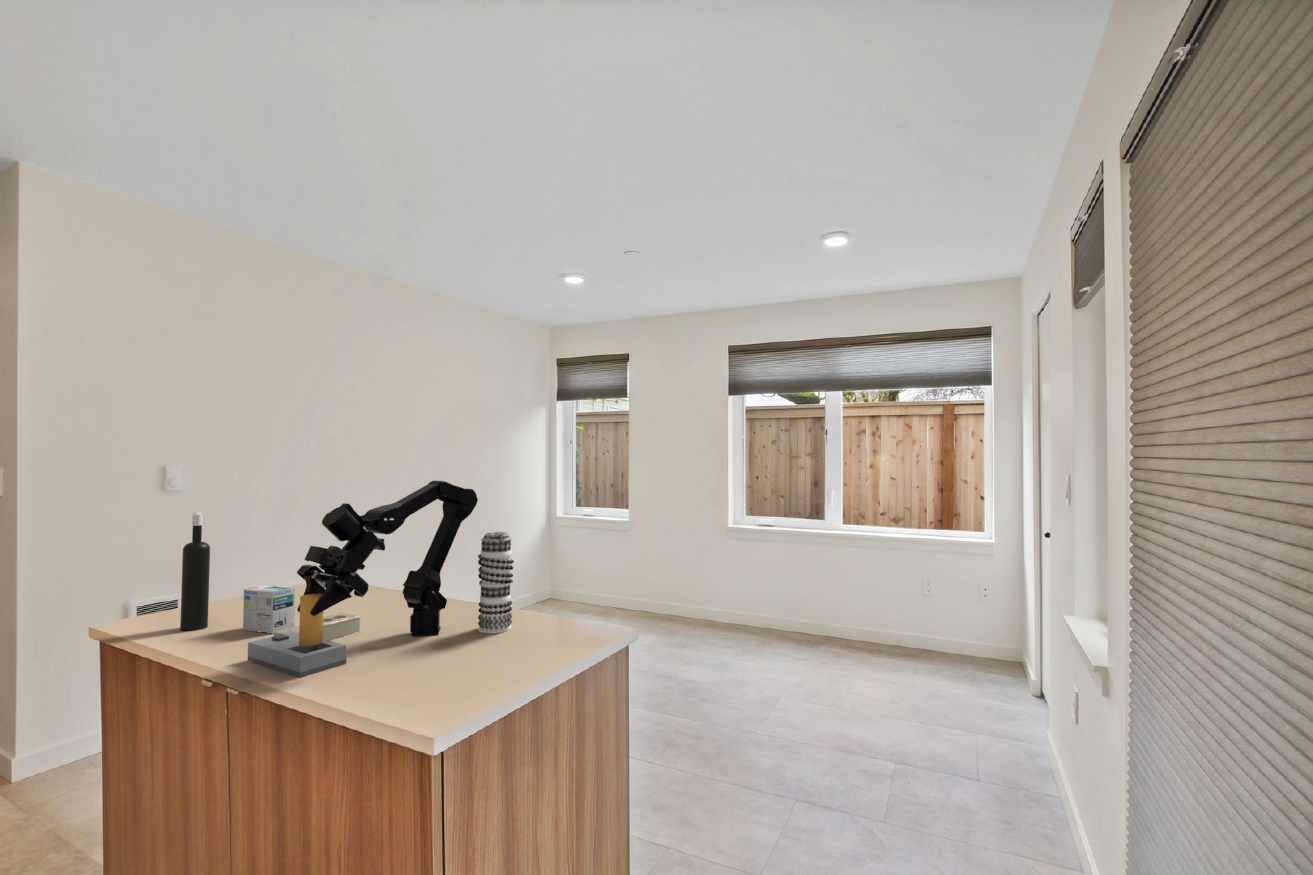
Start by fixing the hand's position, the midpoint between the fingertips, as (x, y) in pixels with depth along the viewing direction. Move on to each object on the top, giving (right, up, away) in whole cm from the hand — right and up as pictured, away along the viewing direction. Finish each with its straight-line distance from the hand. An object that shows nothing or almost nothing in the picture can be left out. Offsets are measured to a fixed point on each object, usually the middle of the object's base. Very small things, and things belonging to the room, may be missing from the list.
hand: (305, 613), depth 134 cm
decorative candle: (+32, -13, +31) cm, 47 cm away
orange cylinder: (+1, -7, +1) cm, 7 cm away
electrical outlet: (-8, -12, +21) cm, 26 cm away
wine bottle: (-46, -12, +30) cm, 56 cm away
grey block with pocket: (-4, -12, +3) cm, 13 cm away
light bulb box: (-26, -13, +29) cm, 41 cm away
